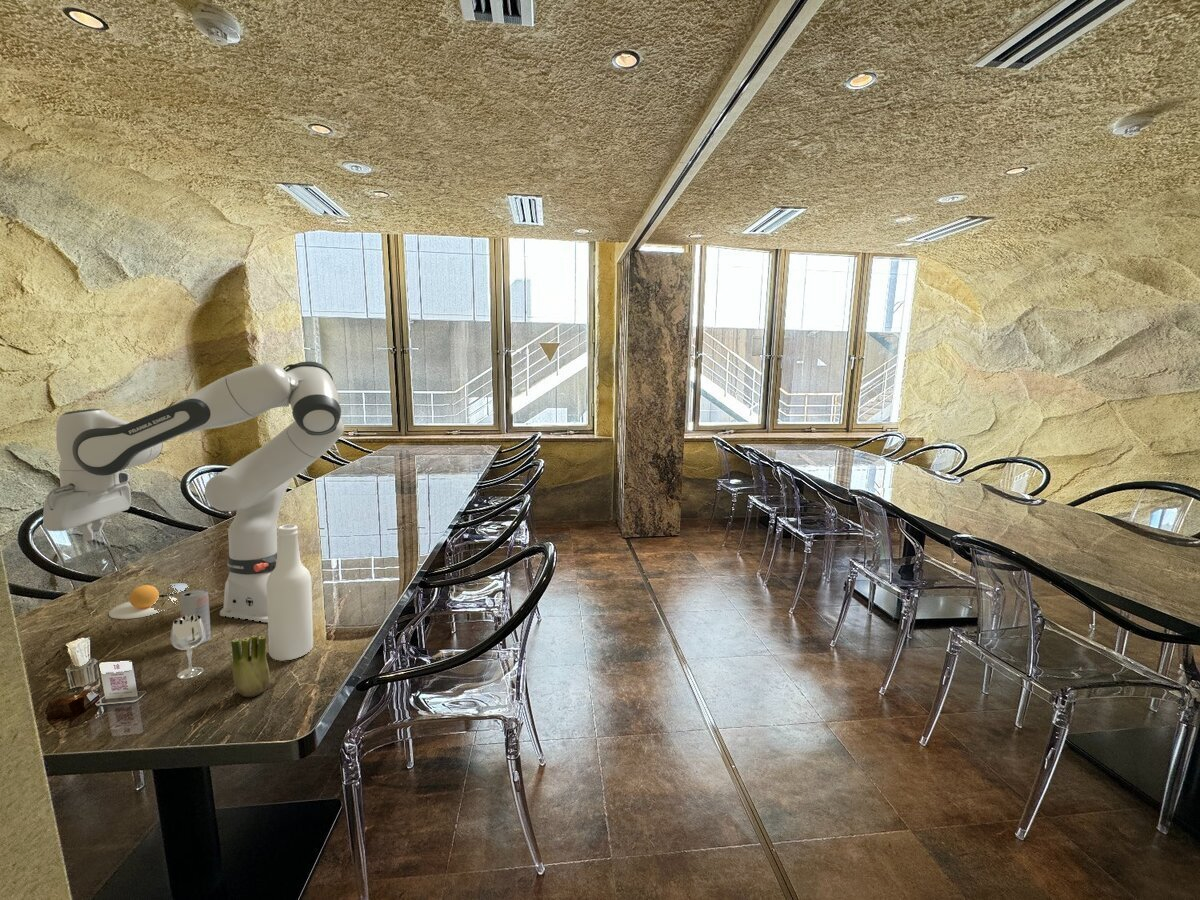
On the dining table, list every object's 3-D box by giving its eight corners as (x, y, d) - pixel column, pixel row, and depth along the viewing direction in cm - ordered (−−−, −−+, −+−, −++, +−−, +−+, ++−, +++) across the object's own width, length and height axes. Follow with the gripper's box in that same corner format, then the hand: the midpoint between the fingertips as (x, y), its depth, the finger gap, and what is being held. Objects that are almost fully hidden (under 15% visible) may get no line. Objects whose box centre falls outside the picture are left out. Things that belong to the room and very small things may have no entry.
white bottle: (264, 651, 122) (259, 525, 118) (306, 639, 128) (303, 519, 124) (275, 667, 116) (269, 534, 112) (318, 653, 122) (315, 527, 118)
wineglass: (213, 666, 115) (210, 613, 114) (194, 681, 110) (191, 626, 108) (186, 665, 115) (183, 613, 113) (166, 680, 109) (162, 625, 108)
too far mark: (196, 587, 155) (196, 586, 155) (162, 598, 147) (162, 597, 147) (177, 581, 159) (177, 581, 159) (142, 592, 150) (142, 591, 150)
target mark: (189, 602, 145) (189, 602, 145) (128, 623, 132) (128, 622, 132) (158, 593, 150) (158, 592, 150) (96, 612, 137) (96, 611, 137)
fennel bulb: (230, 697, 105) (227, 640, 103) (250, 683, 109) (247, 629, 108) (256, 701, 104) (253, 644, 102) (275, 687, 109) (272, 632, 107)
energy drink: (187, 637, 127) (184, 589, 125) (214, 634, 129) (211, 587, 127) (178, 648, 122) (175, 598, 120) (206, 644, 124) (203, 596, 122)
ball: (168, 588, 145) (155, 599, 139) (155, 604, 145) (142, 616, 139) (145, 577, 143) (132, 588, 137) (133, 594, 143) (118, 605, 137)
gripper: (64, 489, 110) (69, 553, 112) (135, 472, 130) (139, 527, 132) (29, 489, 109) (35, 553, 111) (106, 472, 129) (110, 526, 131)
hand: (92, 539), depth 122 cm, fingers closed
